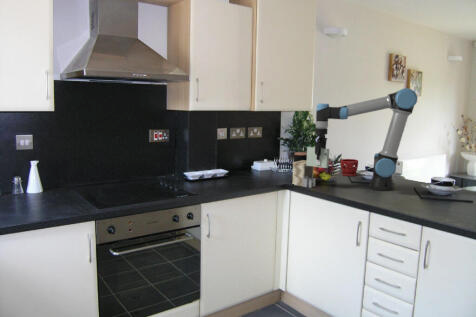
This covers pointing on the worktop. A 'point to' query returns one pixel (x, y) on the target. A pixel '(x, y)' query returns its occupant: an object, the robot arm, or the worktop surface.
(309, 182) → the hinge clips
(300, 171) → the cabinet
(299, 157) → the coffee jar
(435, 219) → the worktop surface
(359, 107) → the robot arm
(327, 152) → the cabinet door
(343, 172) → the plant pot
